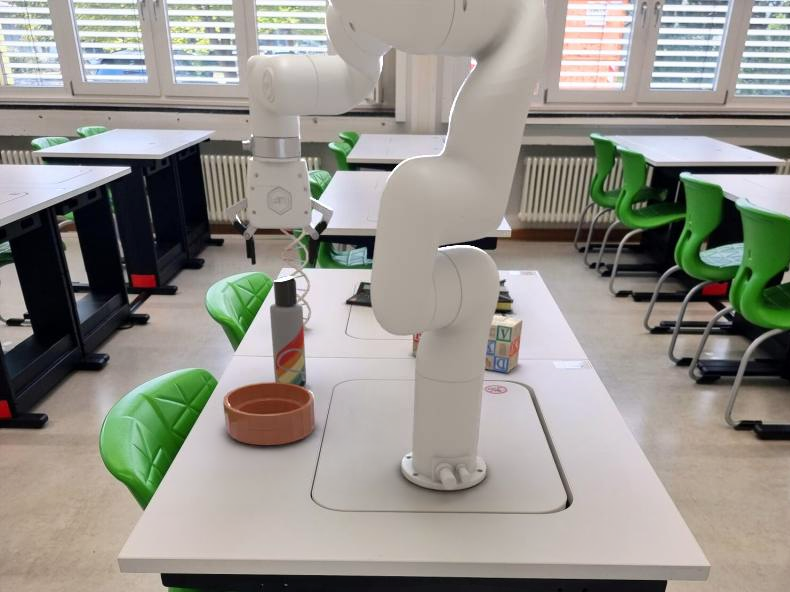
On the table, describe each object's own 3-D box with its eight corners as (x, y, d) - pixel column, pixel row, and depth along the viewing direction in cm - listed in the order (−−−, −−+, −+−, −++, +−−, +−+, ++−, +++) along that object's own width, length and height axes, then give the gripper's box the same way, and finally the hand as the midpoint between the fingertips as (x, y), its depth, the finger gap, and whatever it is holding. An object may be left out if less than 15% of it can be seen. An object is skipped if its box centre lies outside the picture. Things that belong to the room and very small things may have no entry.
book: (442, 290, 199) (443, 271, 196) (504, 292, 198) (506, 273, 196) (444, 312, 180) (446, 291, 178) (513, 314, 180) (515, 294, 177)
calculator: (346, 303, 185) (346, 291, 183) (361, 293, 194) (361, 281, 193) (381, 307, 183) (381, 295, 181) (394, 296, 192) (395, 284, 191)
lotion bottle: (301, 395, 132) (295, 282, 122) (271, 392, 133) (262, 279, 123) (310, 384, 137) (305, 274, 126) (281, 381, 138) (274, 272, 127)
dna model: (299, 326, 168) (291, 183, 152) (318, 332, 164) (313, 186, 148) (277, 333, 163) (267, 185, 147) (297, 339, 160) (289, 189, 144)
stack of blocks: (518, 364, 149) (525, 303, 142) (507, 374, 144) (514, 311, 138) (424, 347, 157) (426, 288, 150) (411, 355, 152) (413, 295, 146)
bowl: (317, 446, 115) (316, 413, 112) (225, 450, 113) (221, 417, 110) (311, 410, 127) (310, 380, 124) (228, 414, 124) (224, 383, 122)
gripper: (219, 150, 110) (229, 268, 119) (333, 152, 112) (335, 267, 122) (220, 145, 116) (231, 258, 125) (329, 147, 119) (331, 257, 128)
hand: (282, 262), depth 123 cm, fingers open, 9 cm apart
